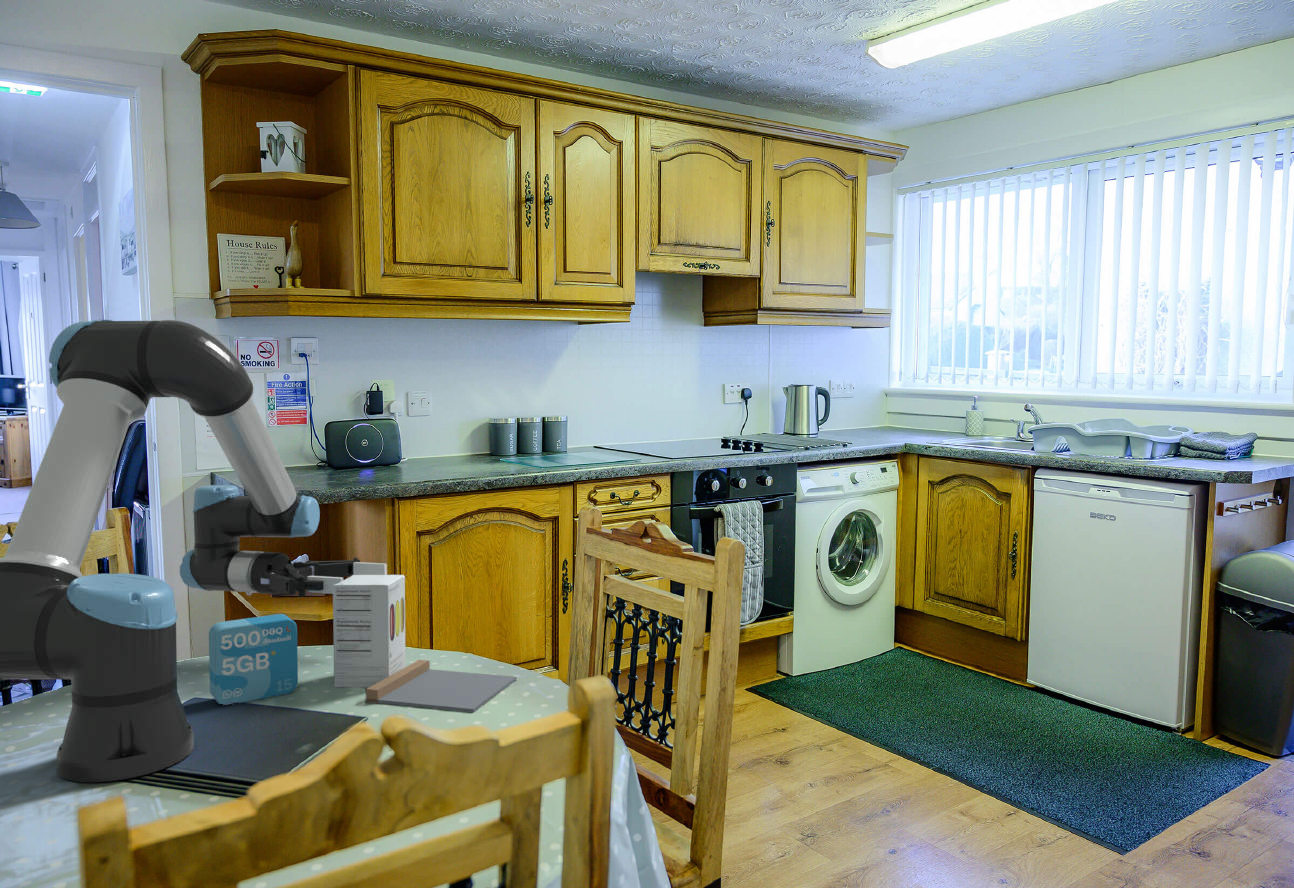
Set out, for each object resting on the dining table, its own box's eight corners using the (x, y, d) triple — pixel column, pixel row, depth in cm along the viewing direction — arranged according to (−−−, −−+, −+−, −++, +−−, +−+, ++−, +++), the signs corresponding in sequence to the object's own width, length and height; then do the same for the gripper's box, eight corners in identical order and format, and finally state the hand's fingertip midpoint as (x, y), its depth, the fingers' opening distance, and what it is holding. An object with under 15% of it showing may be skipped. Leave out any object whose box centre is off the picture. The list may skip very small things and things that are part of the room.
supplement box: (389, 689, 140) (388, 585, 140) (332, 688, 141) (330, 584, 140) (407, 671, 150) (405, 573, 149) (353, 670, 150) (352, 573, 149)
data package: (215, 708, 132) (214, 629, 131) (209, 700, 135) (208, 623, 135) (298, 692, 139) (297, 617, 138) (290, 685, 142) (289, 612, 142)
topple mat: (366, 701, 134) (366, 688, 134) (419, 671, 150) (418, 659, 150) (473, 712, 130) (473, 698, 130) (516, 679, 145) (516, 667, 145)
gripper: (305, 579, 172) (402, 585, 167) (212, 608, 148) (322, 615, 143) (304, 541, 172) (401, 546, 166) (211, 564, 148) (321, 569, 142)
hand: (365, 578), depth 154 cm, fingers open, 13 cm apart
